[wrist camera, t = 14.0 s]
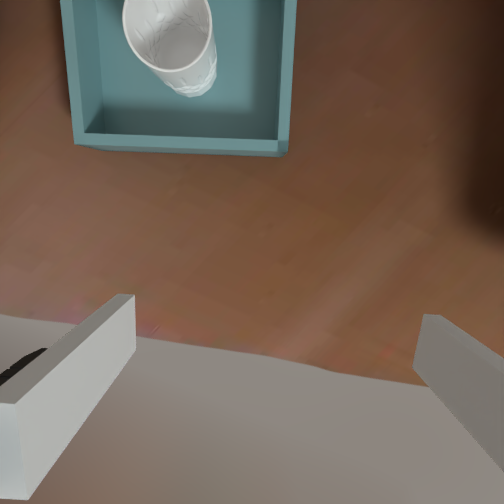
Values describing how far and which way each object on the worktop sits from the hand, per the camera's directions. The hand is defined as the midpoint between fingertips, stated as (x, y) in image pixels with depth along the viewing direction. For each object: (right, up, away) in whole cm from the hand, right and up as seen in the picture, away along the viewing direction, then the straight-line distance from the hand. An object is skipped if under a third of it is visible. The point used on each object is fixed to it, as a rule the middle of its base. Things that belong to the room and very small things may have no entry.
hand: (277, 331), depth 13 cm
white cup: (-9, +26, +22) cm, 35 cm away
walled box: (-9, +26, +23) cm, 36 cm away
